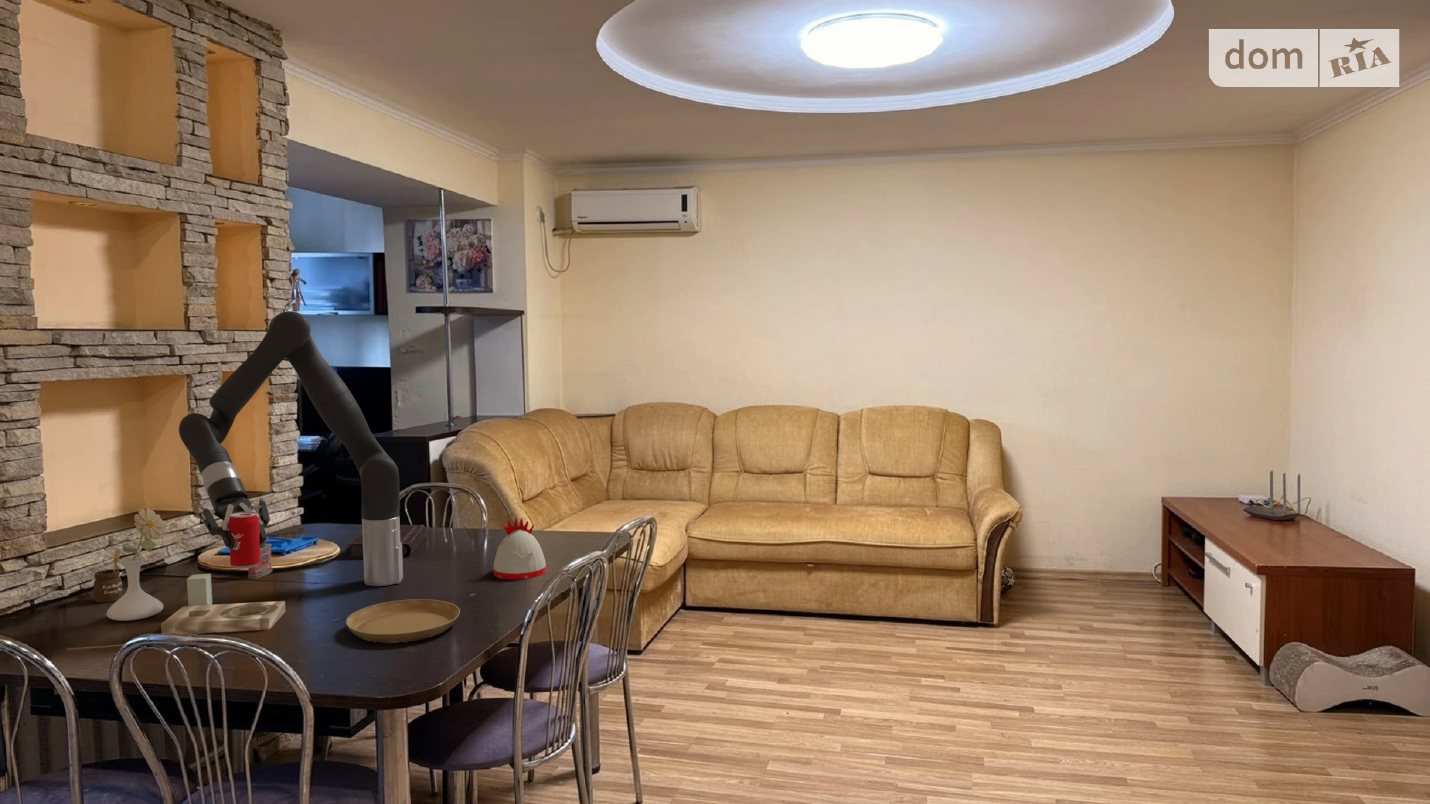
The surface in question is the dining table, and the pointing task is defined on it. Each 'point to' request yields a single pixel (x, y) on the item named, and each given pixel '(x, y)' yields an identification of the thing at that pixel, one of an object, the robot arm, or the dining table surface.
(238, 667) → the dining table surface
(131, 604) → the flower in vase
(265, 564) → the lighter
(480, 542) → the dining table surface
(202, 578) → the square peg
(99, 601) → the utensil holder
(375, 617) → the plant saucer
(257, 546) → the beverage can
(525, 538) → the kitchen timer
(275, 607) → the socket board
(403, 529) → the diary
